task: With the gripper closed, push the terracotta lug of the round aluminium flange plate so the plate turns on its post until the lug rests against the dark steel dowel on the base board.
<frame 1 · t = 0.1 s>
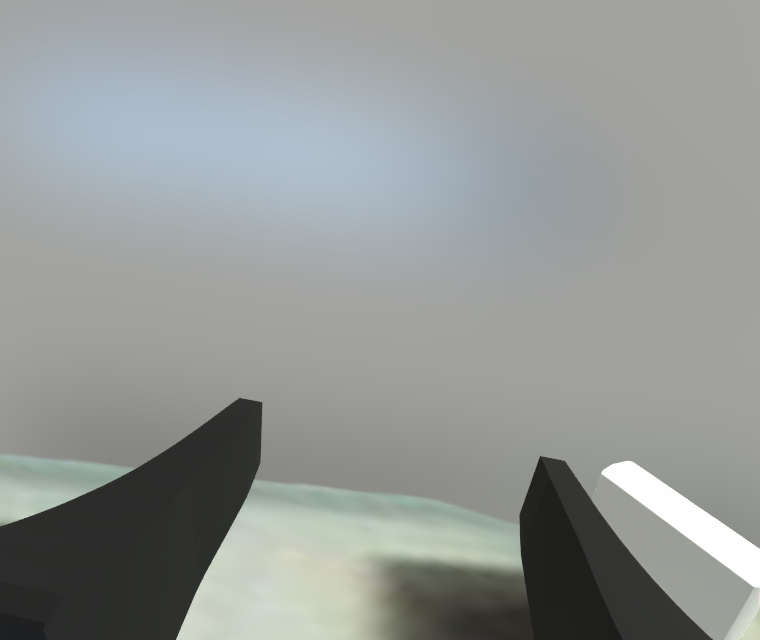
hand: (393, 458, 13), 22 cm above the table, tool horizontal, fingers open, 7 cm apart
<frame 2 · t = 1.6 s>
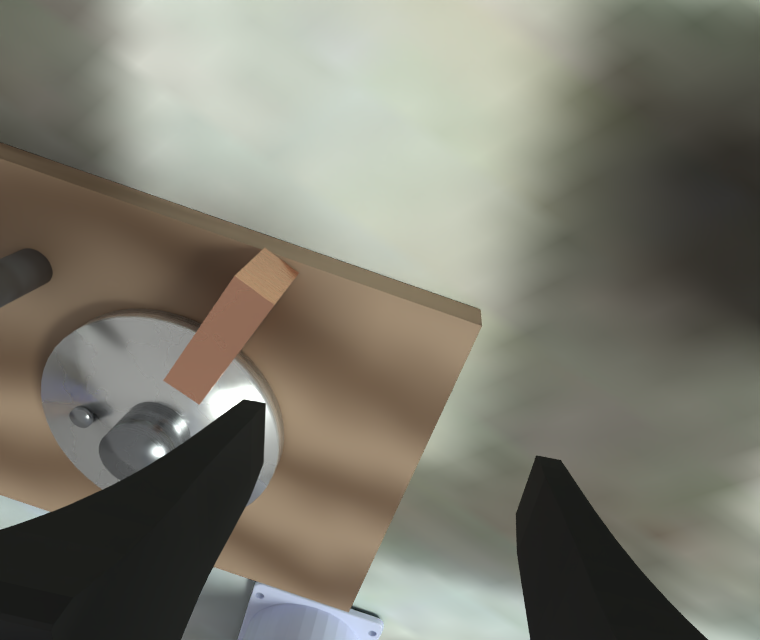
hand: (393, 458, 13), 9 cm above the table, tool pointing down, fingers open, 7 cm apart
base board: (185, 396, 26), on the table
flange plate: (174, 405, 22), point 3 cm above the table, hinge at -20.0°
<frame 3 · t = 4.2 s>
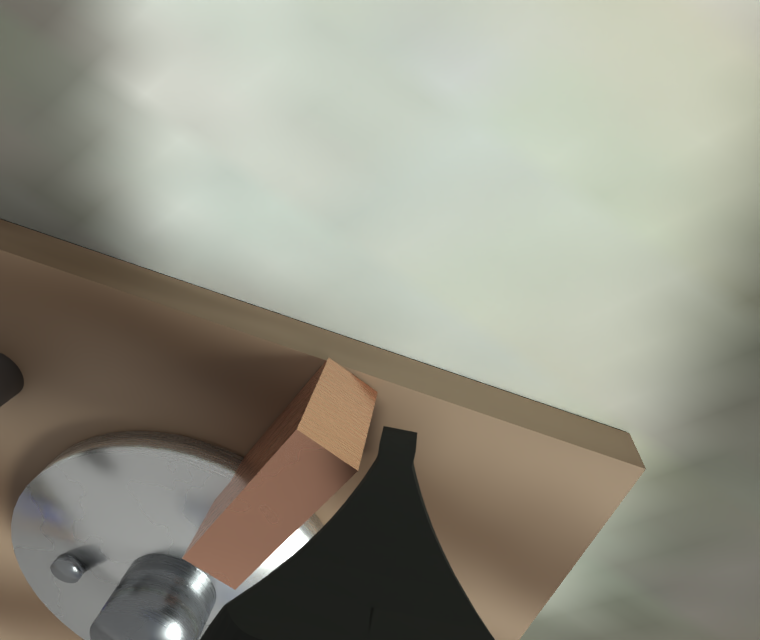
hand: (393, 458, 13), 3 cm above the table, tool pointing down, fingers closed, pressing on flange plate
base board: (206, 523, 19), on the table
flange plate: (195, 566, 16), point 3 cm above the table, hinge at -19.7°, touching gripper
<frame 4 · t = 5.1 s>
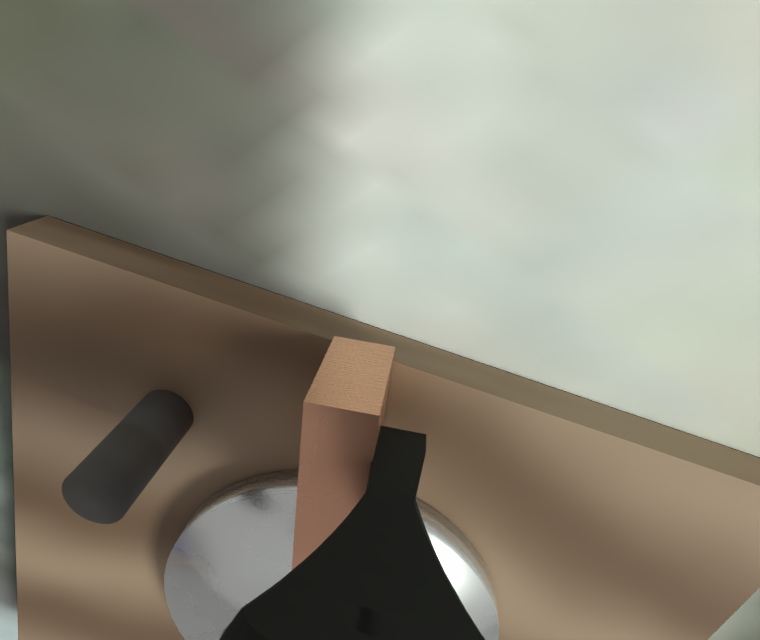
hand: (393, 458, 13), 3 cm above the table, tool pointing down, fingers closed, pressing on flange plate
base board: (341, 557, 19), on the table
flange plate: (327, 591, 15), point 3 cm above the table, hinge at 10.1°, touching gripper
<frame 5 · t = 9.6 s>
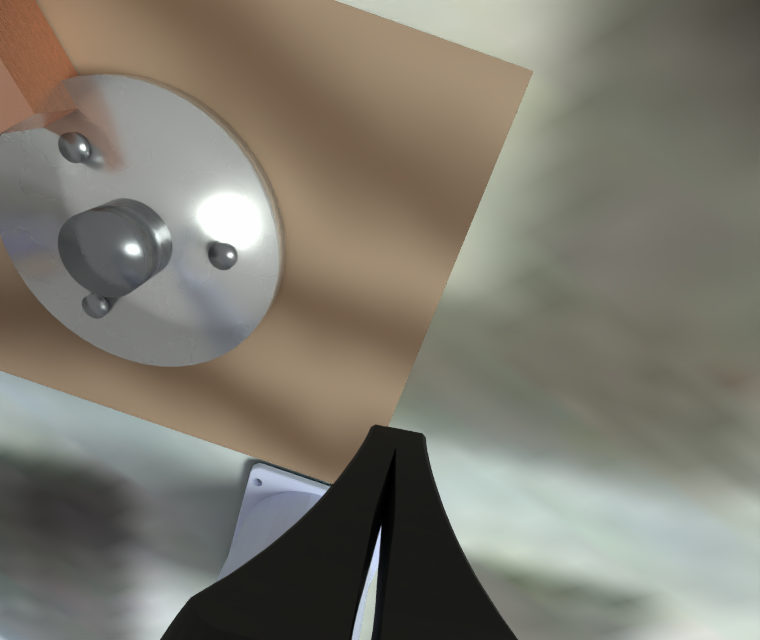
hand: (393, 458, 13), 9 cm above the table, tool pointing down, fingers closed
base board: (168, 220, 22), on the table
flange plate: (89, 184, 18), point 3 cm above the table, hinge at 40.2°
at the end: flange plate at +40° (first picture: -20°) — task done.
